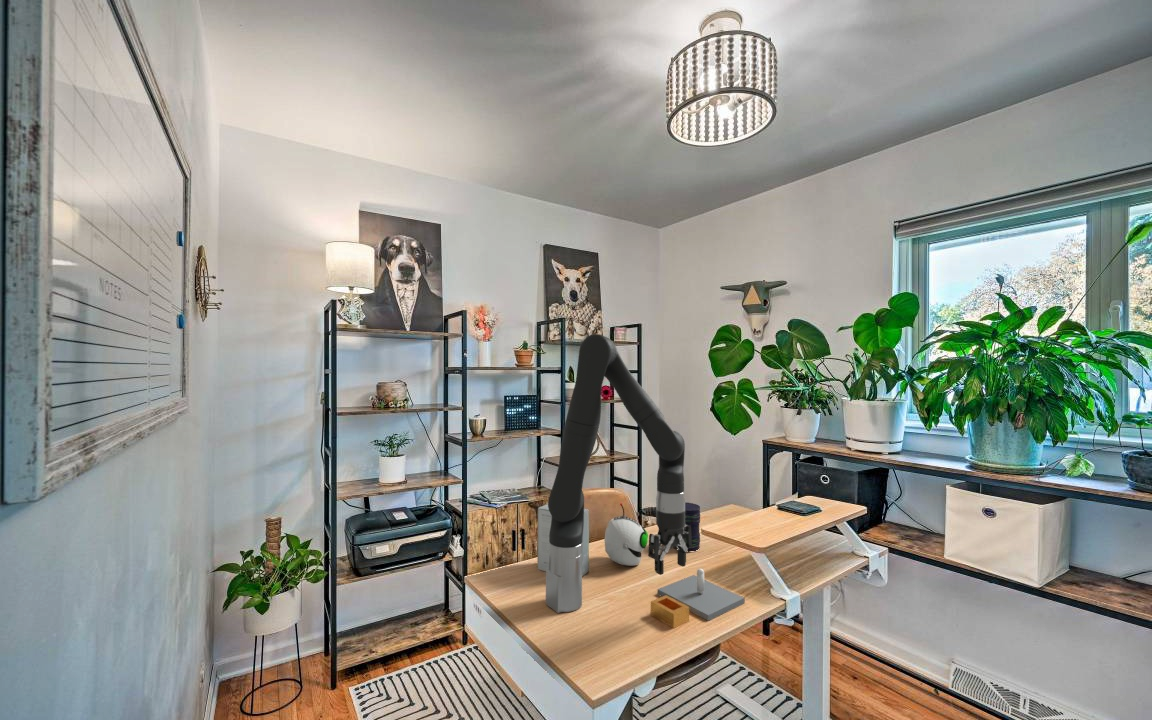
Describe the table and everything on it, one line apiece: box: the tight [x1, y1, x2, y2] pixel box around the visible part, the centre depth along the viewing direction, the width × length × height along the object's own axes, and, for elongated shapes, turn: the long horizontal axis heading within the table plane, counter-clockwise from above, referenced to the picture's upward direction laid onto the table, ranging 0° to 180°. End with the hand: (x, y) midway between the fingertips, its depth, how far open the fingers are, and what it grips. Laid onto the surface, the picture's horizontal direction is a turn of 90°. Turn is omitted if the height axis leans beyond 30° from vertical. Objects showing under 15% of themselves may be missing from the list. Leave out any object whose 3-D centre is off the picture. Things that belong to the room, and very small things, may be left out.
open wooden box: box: [650, 595, 690, 629], centre depth 128 cm, size 6×8×4 cm
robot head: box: [604, 503, 649, 567], centre depth 162 cm, size 16×14×20 cm
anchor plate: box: [657, 568, 746, 622], centre depth 139 cm, size 16×18×8 cm
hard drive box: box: [536, 503, 590, 577], centre depth 156 cm, size 16×8×20 cm, turn 59°
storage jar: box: [673, 501, 701, 552], centre depth 177 cm, size 10×10×15 cm
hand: (670, 569), depth 128 cm, fingers open, 8 cm apart
